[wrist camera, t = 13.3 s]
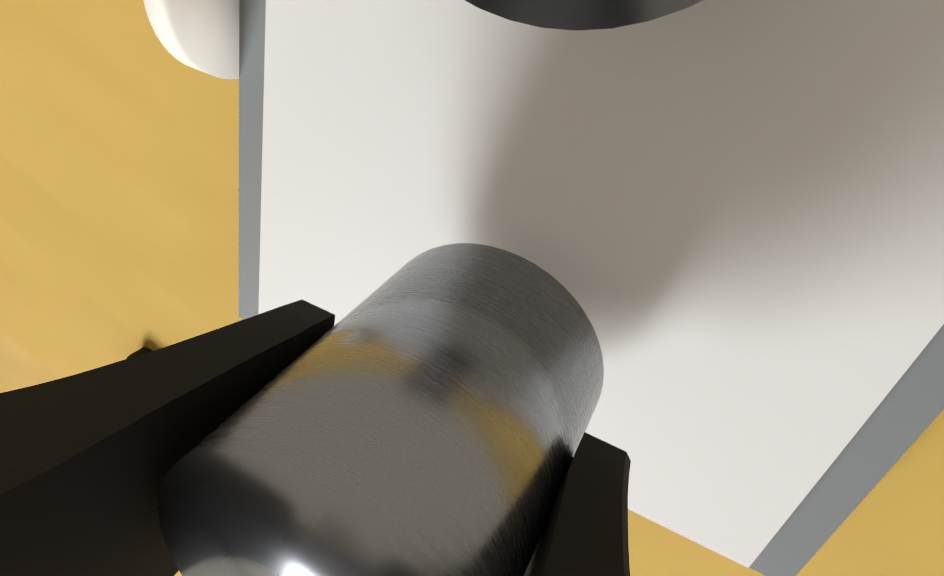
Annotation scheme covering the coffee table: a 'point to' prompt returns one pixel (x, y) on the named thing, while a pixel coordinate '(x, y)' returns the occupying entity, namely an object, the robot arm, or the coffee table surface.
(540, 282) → the cylinder
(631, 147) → the white grey-edged panel
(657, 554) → the coffee table surface
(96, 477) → the robot arm
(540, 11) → the cylinder
